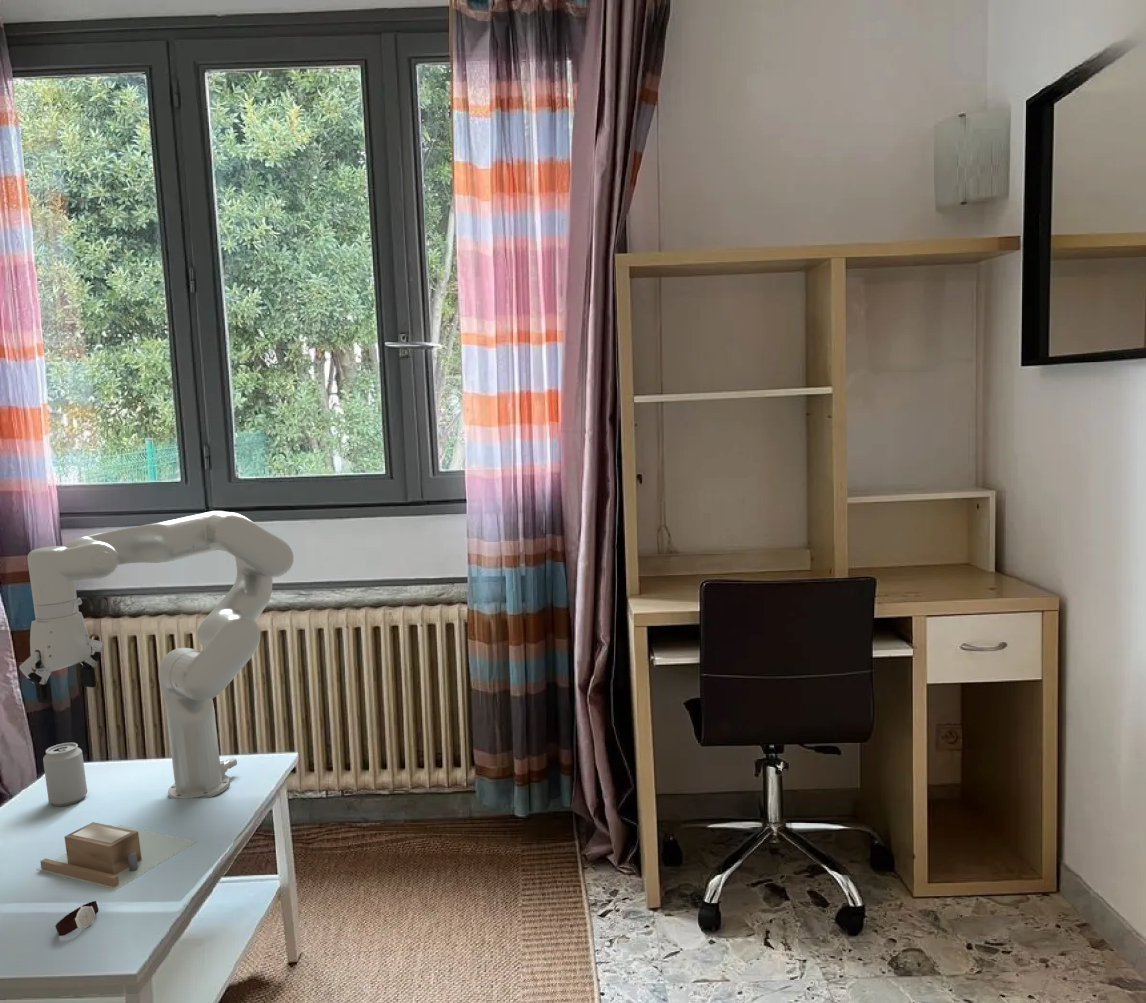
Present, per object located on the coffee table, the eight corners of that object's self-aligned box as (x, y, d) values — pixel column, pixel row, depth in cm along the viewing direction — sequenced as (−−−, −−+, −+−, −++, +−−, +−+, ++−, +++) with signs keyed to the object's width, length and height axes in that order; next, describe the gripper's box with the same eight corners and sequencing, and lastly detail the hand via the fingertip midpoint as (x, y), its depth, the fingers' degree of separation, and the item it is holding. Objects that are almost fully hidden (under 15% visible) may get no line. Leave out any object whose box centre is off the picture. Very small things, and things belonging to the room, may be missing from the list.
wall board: (120, 831, 191) (117, 811, 190) (197, 847, 182) (195, 826, 181) (37, 875, 175) (34, 853, 174) (117, 895, 166) (114, 872, 165)
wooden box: (96, 849, 181) (92, 821, 180) (141, 859, 176) (138, 831, 175) (68, 864, 175) (64, 836, 175) (113, 875, 170) (110, 846, 169)
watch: (72, 941, 153) (69, 920, 152) (48, 938, 154) (45, 917, 153) (107, 914, 160) (104, 894, 160) (83, 912, 161) (81, 891, 161)
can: (80, 789, 213) (73, 738, 211) (93, 798, 207) (86, 745, 206) (44, 801, 207) (37, 748, 206) (55, 811, 202) (48, 756, 201)
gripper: (82, 598, 196) (93, 679, 198) (1, 620, 180) (14, 707, 182) (108, 600, 192) (118, 682, 195) (28, 622, 177) (40, 711, 179)
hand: (67, 694), depth 188 cm, fingers open, 9 cm apart
